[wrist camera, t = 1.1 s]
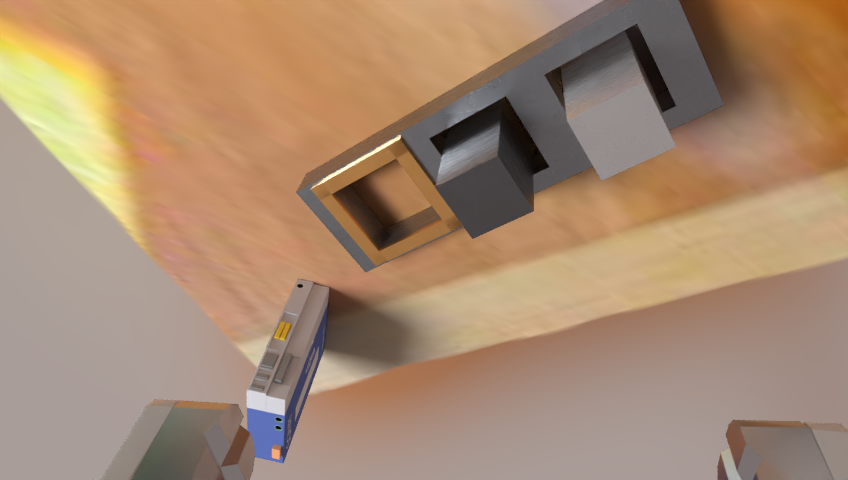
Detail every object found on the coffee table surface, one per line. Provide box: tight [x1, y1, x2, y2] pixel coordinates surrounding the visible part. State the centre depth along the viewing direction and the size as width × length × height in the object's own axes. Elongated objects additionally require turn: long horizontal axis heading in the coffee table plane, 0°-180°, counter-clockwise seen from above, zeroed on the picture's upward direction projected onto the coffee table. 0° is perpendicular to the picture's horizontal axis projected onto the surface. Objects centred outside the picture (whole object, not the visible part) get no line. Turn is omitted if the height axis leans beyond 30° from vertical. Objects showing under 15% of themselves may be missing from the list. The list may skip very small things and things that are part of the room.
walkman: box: [247, 279, 329, 463], centre depth 48 cm, size 8×3×12 cm, turn 171°
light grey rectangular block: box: [561, 30, 676, 181], centre depth 34 cm, size 4×4×8 cm
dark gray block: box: [435, 97, 534, 239], centre depth 38 cm, size 4×4×8 cm
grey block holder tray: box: [296, 0, 724, 272], centre depth 40 cm, size 26×8×3 cm, turn 124°
